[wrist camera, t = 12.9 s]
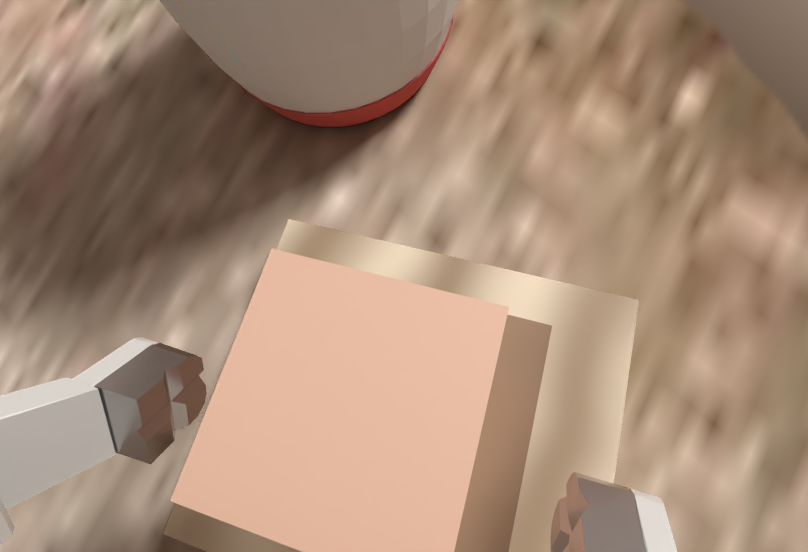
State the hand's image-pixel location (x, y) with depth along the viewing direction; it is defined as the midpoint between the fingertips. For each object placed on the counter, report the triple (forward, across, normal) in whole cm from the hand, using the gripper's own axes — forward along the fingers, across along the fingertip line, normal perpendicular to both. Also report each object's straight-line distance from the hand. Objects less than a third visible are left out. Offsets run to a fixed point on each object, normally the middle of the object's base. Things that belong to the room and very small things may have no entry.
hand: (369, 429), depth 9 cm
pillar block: (+5, 0, +4) cm, 7 cm away
